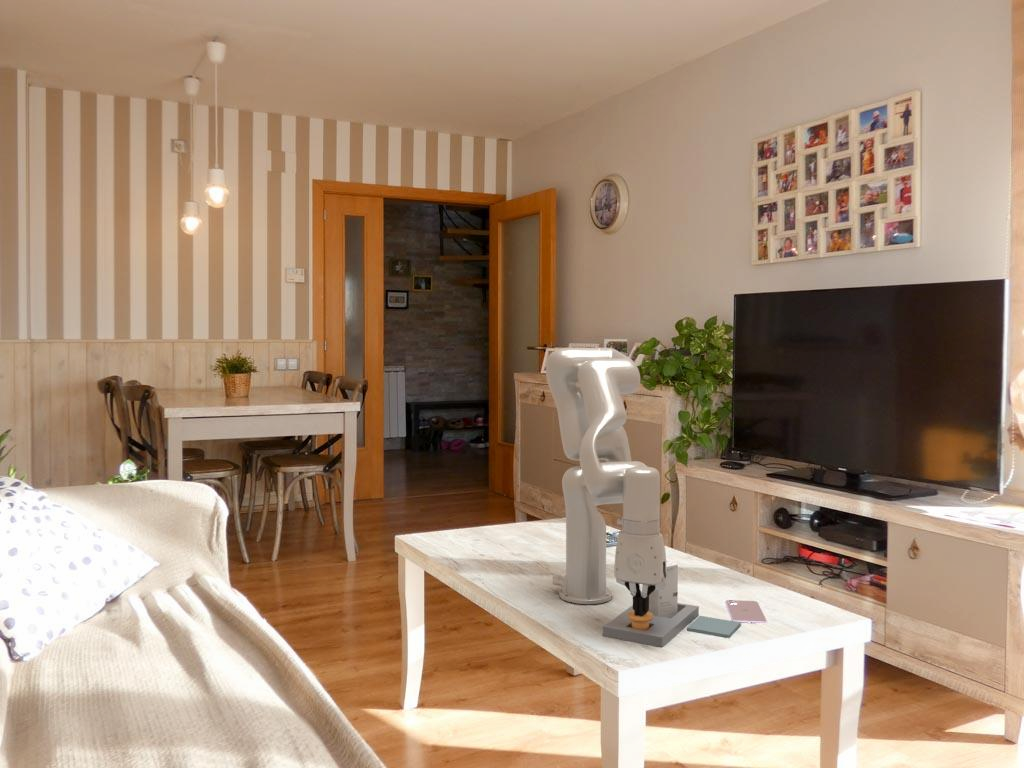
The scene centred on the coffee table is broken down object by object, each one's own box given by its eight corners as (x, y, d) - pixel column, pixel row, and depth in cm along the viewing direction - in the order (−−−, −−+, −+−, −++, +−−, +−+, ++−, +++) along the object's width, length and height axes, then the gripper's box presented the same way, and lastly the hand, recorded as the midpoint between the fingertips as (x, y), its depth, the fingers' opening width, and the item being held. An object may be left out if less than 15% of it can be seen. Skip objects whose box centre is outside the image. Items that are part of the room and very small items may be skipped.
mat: (686, 630, 180) (686, 627, 180) (700, 618, 188) (700, 615, 188) (728, 637, 176) (729, 635, 176) (740, 625, 183) (740, 622, 183)
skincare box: (658, 623, 185) (658, 568, 184) (644, 617, 188) (644, 563, 188) (678, 618, 188) (679, 564, 187) (664, 613, 192) (665, 559, 191)
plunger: (623, 636, 177) (623, 615, 176) (633, 628, 181) (633, 608, 181) (647, 640, 174) (647, 619, 174) (656, 633, 178) (656, 612, 178)
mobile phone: (732, 619, 185) (724, 598, 200) (732, 624, 185) (724, 602, 200) (768, 621, 184) (757, 600, 199) (768, 625, 184) (757, 604, 199)
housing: (602, 635, 177) (602, 626, 177) (643, 606, 197) (643, 597, 197) (662, 647, 170) (662, 637, 170) (698, 615, 190) (698, 606, 190)
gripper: (600, 526, 177) (600, 613, 178) (669, 534, 169) (668, 625, 170) (615, 519, 183) (614, 604, 184) (682, 527, 176) (681, 615, 177)
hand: (640, 614), depth 177 cm, fingers closed
